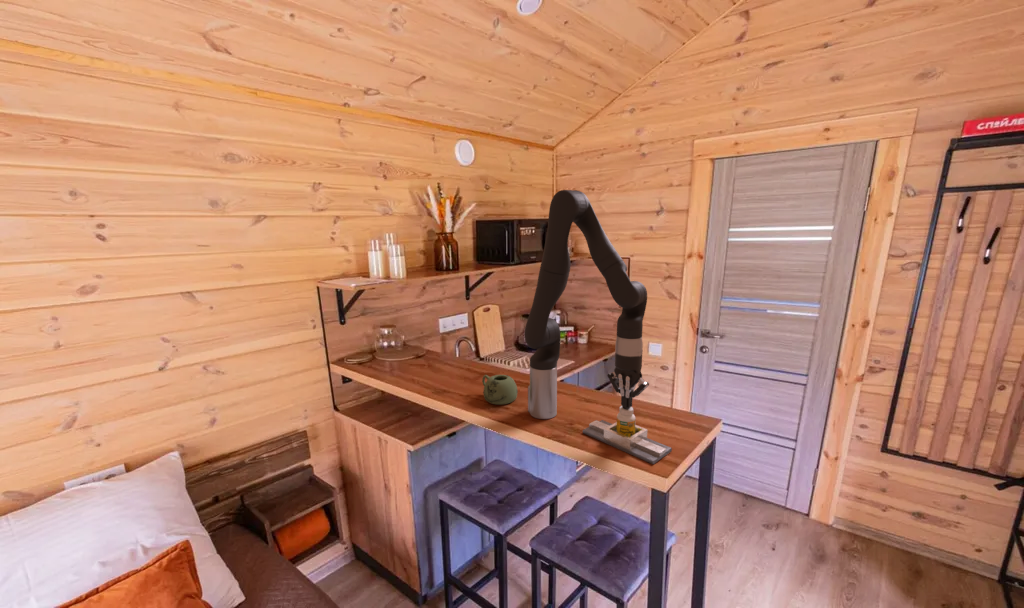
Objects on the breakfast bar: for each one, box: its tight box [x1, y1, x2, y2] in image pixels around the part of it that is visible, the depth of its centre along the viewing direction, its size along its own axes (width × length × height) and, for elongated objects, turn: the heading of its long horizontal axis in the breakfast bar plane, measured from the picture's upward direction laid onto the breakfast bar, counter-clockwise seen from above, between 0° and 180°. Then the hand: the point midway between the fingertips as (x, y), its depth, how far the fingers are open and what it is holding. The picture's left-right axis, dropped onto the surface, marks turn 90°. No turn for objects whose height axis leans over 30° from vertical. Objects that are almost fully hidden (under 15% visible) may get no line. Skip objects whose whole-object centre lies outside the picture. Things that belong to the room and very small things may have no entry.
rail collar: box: [582, 419, 673, 465], centre depth 123 cm, size 24×10×4 cm, turn 42°
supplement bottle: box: [616, 405, 637, 437], centre depth 123 cm, size 5×5×10 cm
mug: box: [482, 374, 518, 406], centre depth 156 cm, size 16×13×9 cm
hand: (626, 408), depth 122 cm, fingers closed
